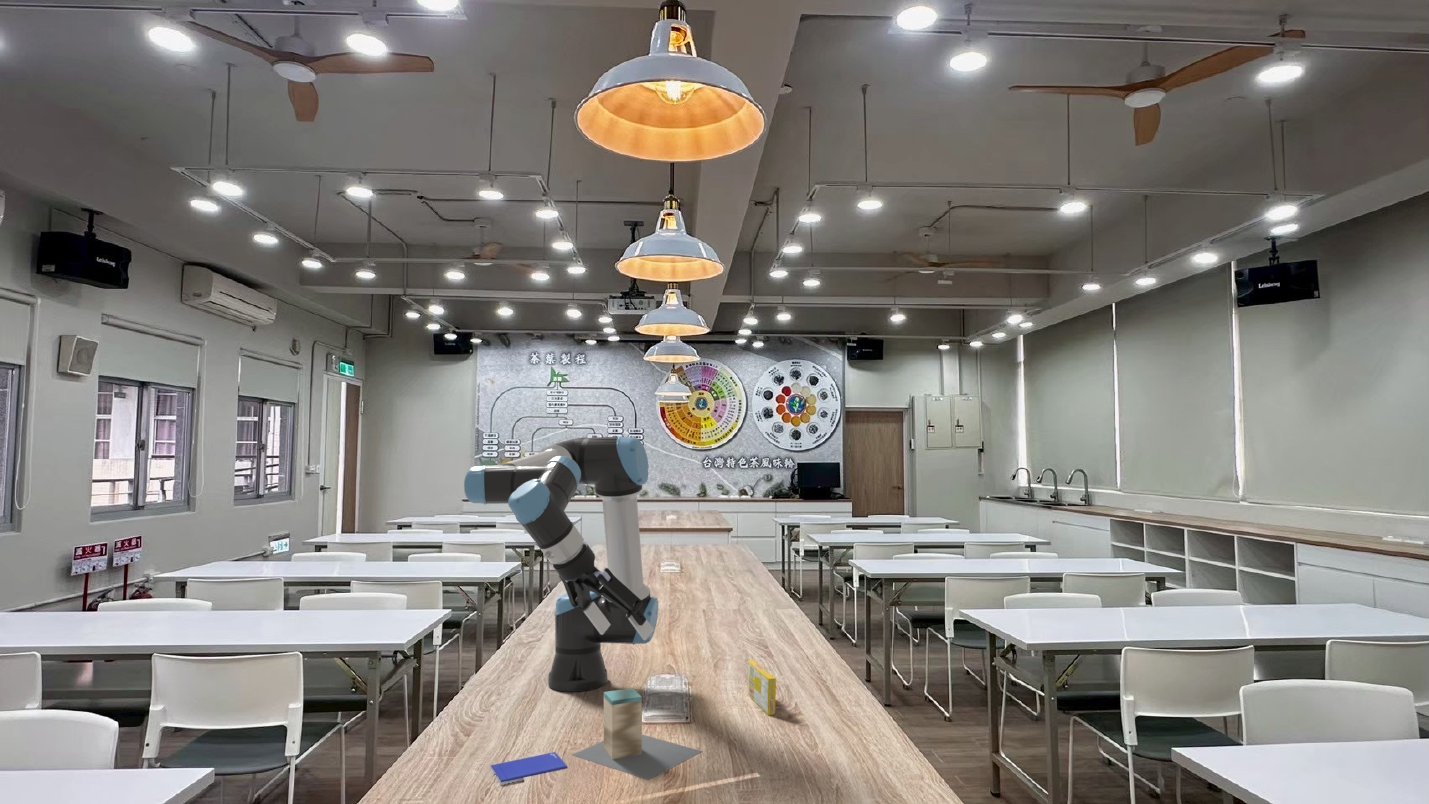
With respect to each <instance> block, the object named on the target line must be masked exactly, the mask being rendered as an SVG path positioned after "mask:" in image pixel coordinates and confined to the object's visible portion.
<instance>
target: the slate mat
mask: <svg viewBox="0 0 1429 804" xmlns="http://www.w3.org/2000/svg"><path fill="white" fill-rule="evenodd" d="M701 753H703V751H702V750H700V749H695V748H692V747H689V746H686V745H681V744H678V743H674V742H670V741H666V740H663V739H660V738H656V737H652V736H649V735H646V734H642V754H640V755H634V756H628V757H623V758H617V759H612V758H611V757H610V756H609V755H608V753H607V752H606V751H605V749H604V740H603V741H600V742H598V743H596V744H594V745H591V746H589V747H586V748H584V749H582V750H579V751H577V752H575V753H573V754H571V756H574V757H577V758H579V759H581V760H582V759H583V760H586V761H589V762H592V763H595V764H598V765H601V766H604V767H607V768H610V769H614V770H617V771H619V772H623V773H626V774H630V775H633V776H635V777H639V778H641V779H645V780H648V781H650V780H651V779H654V778H655V777H657V776H659V775H661V774H663V773H665V772H667V771H669V770H670V769H673V768H674V767H676V766H678V765H680V764H682V763H684V762H685V761H687V760H689V759H691V758H693V757H695V756H696V755H699V754H701Z"/></svg>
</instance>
